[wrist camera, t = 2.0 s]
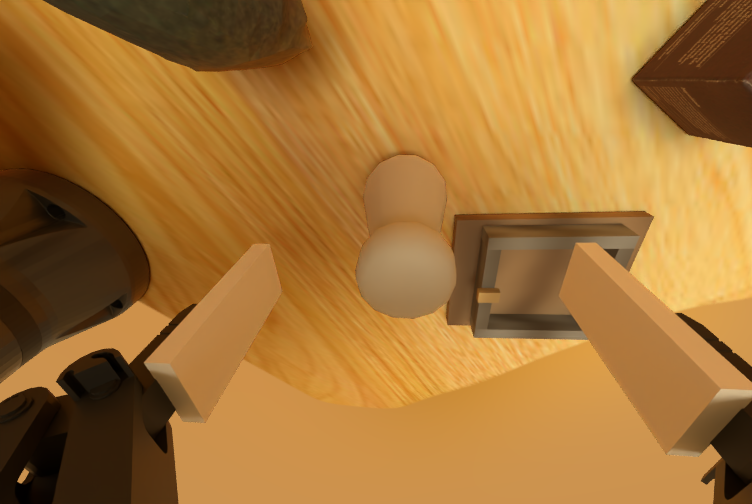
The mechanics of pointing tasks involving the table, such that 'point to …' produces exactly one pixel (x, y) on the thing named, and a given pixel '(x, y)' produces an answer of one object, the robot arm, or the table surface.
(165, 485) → the robot arm
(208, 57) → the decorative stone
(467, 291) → the base
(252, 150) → the table surface
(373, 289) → the salt shaker
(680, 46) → the box
